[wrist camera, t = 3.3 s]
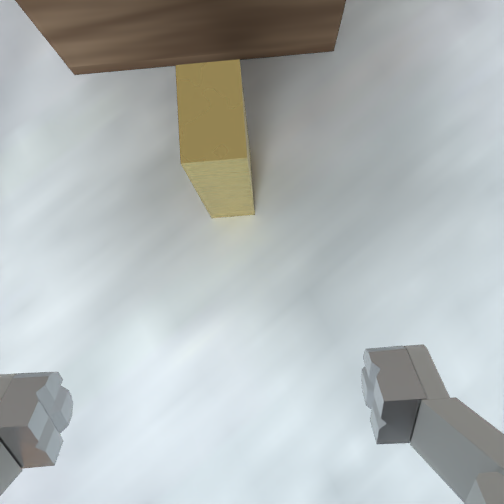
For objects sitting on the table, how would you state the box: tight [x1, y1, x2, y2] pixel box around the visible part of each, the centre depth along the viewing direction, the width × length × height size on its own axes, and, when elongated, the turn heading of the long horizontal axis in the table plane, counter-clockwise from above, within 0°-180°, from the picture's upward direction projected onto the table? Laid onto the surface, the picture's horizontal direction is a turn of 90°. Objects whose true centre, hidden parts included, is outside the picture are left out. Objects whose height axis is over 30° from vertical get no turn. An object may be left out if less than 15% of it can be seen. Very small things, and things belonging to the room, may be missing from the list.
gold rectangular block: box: [176, 59, 255, 218], centre depth 21 cm, size 4×2×9 cm, turn 4°
